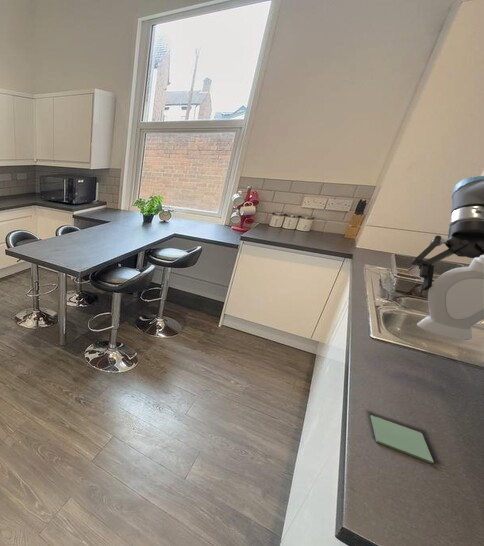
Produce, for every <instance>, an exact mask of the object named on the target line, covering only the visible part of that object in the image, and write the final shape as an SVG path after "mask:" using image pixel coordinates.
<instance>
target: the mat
mask: <svg viewBox="0 0 484 546" xmlns="http://www.w3.org/2000/svg"><path fill="white" fill-rule="evenodd" d="M369 417H370V422H371V427H372V431H373V434H374V439H375V443H377V444H378V445H382V446H385V447H387V448H390V449H392V450H394V451H398V452H400V453H403V454H405V455H408V456H410V457H413V458H416V459H419V460H421V461H423V462H426V463H428V464H431V465H433V464H434V463H435V461H434V459H433V457H432V454H431V452H430V450H429V447H428V445H427V442H426V440H425V437H424V435H423V433H422V432H420V431H417V430H415V429H412V428H409V427H406V426H403V425H400V424H397V423H395V422H391V421H389V420H386V419H383V418H381V417H377V416H374V415H370V416H369Z"/></svg>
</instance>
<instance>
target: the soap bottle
mask: <svg viewBox="0 0 484 546" xmlns="http://www.w3.org/2000/svg"><path fill="white" fill-rule="evenodd" d="M427 291H428V292H427V306H428V311H429V315H428V316H425V317H424V318H423V319H421V320H420V321H419V322H417V323H416V326H417V327H419V328H420V329H422V330H424V331H427V332H429V333H432V334H435V335H438V336H441V337H446V338H450V339H455V340H461V341H471V340H472V338H473V329H472V327H473V326H475V325H477V324H478V323H479V322H482V321H484V255H480V257H476V258H472V260H471V262H470V264H469V265H468V266H460V267H455V268H451V269H449V270H447V271H444V272H443V273H442V274H441V275H439V276H438V277H437V278H436V279H434V280H433V281H432V287H430V288H429V289H428V290H427Z"/></svg>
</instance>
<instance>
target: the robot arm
mask: <svg viewBox="0 0 484 546" xmlns="http://www.w3.org/2000/svg"><path fill="white" fill-rule="evenodd" d="M448 227H449V228H448V234H447V235H448V236H447V238H444V237H443V238H442V236H441V235H435V236H434V237H433V238H432V239H431V240H430V243H429V245H428V246H427V247H426V248H424V250H422V252H421V253H420V254H418V256H416V257H415V258H414V259H413V260H412V261H411V263H410V264H411V265H412V266H418V269H419V278H422V279H423V283H422V291H429V288H430V287H432V283H433V278H434V271H435V265H434V264H436V263H438V262H440V261H442V260H444V259H446V258H449V257H450V256H452V255H455V256H456V257H460V258H465V257H466V258H469V259H474V258H476V257H480V255H484V175H477V176H474V177H472V176H470V177H467V178H464V179H461V180H460V181H458V182H457V183H456V184H455V186H454V188H453V191H452V194H451V211H450V218H449V224H448ZM442 245H445V246H446V247H447V249H445V250H444V251H442V252H440V253H438V254H436V255H434V256H432V257H430V258H428V259H426V260H424V259H425V258H426V257H427V256H428V255H429V254H430V253H431V252H432V251H433V250H434V249H436V248H437V247H440V246H442Z"/></svg>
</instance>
